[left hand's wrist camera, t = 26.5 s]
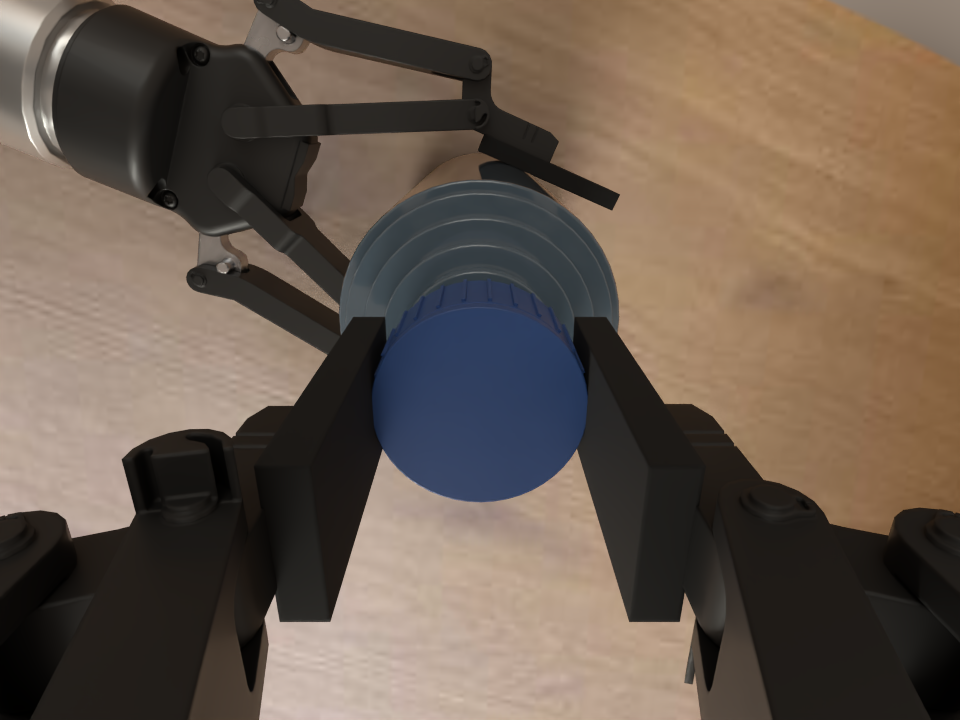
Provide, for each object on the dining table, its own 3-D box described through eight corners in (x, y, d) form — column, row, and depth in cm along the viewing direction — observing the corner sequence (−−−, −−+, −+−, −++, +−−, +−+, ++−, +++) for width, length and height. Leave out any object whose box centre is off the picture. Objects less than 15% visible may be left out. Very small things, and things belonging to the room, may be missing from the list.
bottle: (560, 159, 32) (705, 217, 11) (542, 303, 35) (630, 554, 15) (410, 146, 32) (281, 182, 11) (405, 292, 35) (297, 532, 14)
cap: (365, 291, 13) (344, 321, 11) (566, 263, 13) (583, 288, 11) (403, 463, 15) (391, 516, 13) (582, 441, 15) (599, 491, 13)
